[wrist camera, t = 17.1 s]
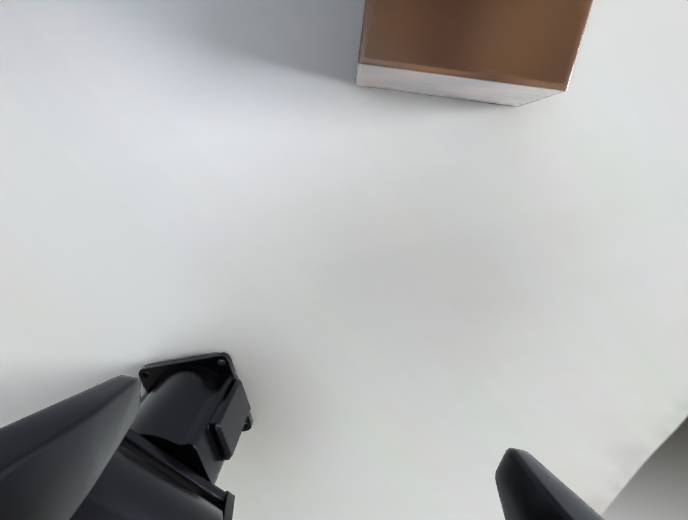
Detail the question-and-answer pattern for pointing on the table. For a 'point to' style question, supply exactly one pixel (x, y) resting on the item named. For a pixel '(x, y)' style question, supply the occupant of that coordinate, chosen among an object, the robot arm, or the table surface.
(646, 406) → the table surface
